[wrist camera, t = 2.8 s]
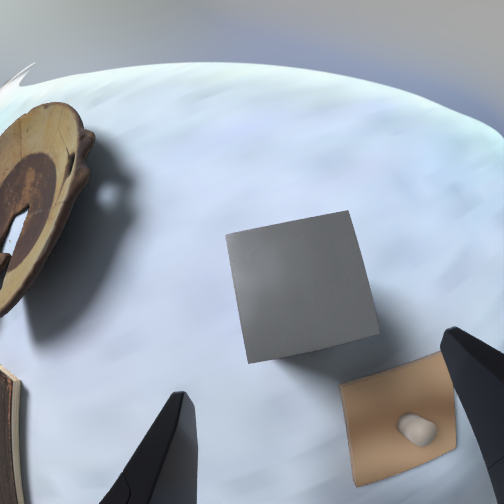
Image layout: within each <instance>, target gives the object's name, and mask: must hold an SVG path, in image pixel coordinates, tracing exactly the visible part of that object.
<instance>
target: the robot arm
mask: <svg viewBox="0 0 504 504" xmlns="http://www.w3.org/2000/svg"><path fill="white" fill-rule="evenodd" d="M440 349H441V353H442V355H443V358H444V361H445V363H446V366H447V369H448V372H449V375H450V377H451V380H452V383H453V385H454V388H455V390H456V392H457V394H458V396H459V399H460V401H461V403H462V405H463V408H464V410H465V412H466V415H467V417H468V419H469V422H470V424H471V426H472V429H473V431H474V434H475V436H476V439H477V442H478V444H479V447H480V450H481V452H482V455H483V458H484V461H485V464H486V467H487V469H488V473H489V476H490V479H491V482H492V486H493V489H494V492H495V496H496V499H497V503H498V504H504V354H503V353H501V352H500V351H498V350H496V349H495V348H493V347H491V346H489V345H488V344H486V343H484V342H483V341H481V340H479V339H477V338H476V337H474V336H472V335H470V334H469V333H467V332H465V331H463V330H462V329H460V328H458V327H455V326H454V327H451V328H448V329H446V330H445V332H444V335H443V338H442V341H441V344H440ZM197 467H198V441H197V430H196V417H195V407H194V404H193V402H192V401H191V399H190V398H189V396H188V395H187V393H186V392H185V391H178V392H173V393H172V394H171V396H170V397H169V399H168V400H167V402H166V404H165V405H164V407H163V408H162V410H161V412H160V413H159V415H158V416H157V418H156V419H155V421H154V423H153V424H152V426H151V427H150V429H149V430H148V432H147V434H146V435H145V437H144V438H143V440H142V441H141V443H140V445H139V446H138V448H137V449H136V451H135V452H134V454H133V456H132V457H131V459H130V460H129V462H128V463H127V465H126V466H125V468H124V470H123V472H122V473H121V474H120V476H119V477H118V479H117V480H116V482H115V483H114V485H113V486H112V488H111V489H110V490H109V492H108V493H107V494H106V495H105V497H104V498H103V499H102V500H101V502H100V503H99V504H197Z"/></svg>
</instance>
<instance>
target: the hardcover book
mask: <svg viewBox="0 0 504 504" xmlns="http://www.w3.org/2000/svg"><path fill="white" fill-rule="evenodd" d="M20 387H21V380H19V379H18V378H17V377H15V376H14V375H13V374H12V373H10V372H9V371H8V370H7V369H5V368H4V367H3V366H2V365H0V504H24V497H23V490H22V481H21V471H20V456H19V402H20Z"/></svg>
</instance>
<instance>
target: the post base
mask: <svg viewBox="0 0 504 504" xmlns="http://www.w3.org/2000/svg"><path fill="white" fill-rule="evenodd" d="M339 387H340V392H341V398H342V404H343V411H344V417H345V423H346V430H347V437H348V444H349V451H350V459H351V467H352V475H353V481H354V483H355V485H356V487H360V486H364V485H367V484H370V483H373V482H376V481H379V480H382V479H385V478H388V477H391V476H393V475H396V474H399V473H401V472H404V471H407V470H409V469H412V468H414V467H416V466H419V465H421V464H423V463H426V462H428V461H430V460H432V459H434V458H437V457H439V456H441V455H443V454H445V453H447V452H449V451H451V450H453V449H455V448H456V422H455V404H454V392H453V383H452V380H451V377H450V375H449V372H448V369H447V366H446V363H445V361H444V358H443V355H442V353H441V351H438V352H436V353H433V354H431V355H428V356H426V357H423V358H420V359H418V360H415V361H412V362H409V363H406V364H404V365H401V366H398V367H395V368H392V369H389V370H386V371H383V372H379V373H376V374H373V375H370V376H366V377H363V378H359V379H356V380H352V381H349V382H345V383H341V384H339Z"/></svg>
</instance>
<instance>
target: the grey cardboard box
mask: <svg viewBox="0 0 504 504" xmlns="http://www.w3.org/2000/svg"><path fill="white" fill-rule="evenodd" d="M226 241H227V247H228V253H229V259H230V265H231V271H232V277H233V283H234V288H235V294H236V300H237V305H238V311H239V316H240V322H241V328H242V333H243V338H244V344H245V349H246V355H247V360H248V364H250V363H256V362H262V361H267V360H272V359H278V358H283V357H288V356H293V355H297V354H302V353H307V352H311V351H316V350H320V349H324V348H328V347H332V346H336V345H340V344H344V343H348V342H352V341H356V340H359V339H363V338H367V337H370V336H374V335H377V334H380V330H379V325H378V321H377V316H376V312H375V307H374V303H373V298H372V294H371V290H370V286H369V282H368V278H367V274H366V270H365V266H364V262H363V259H362V255H361V251H360V248H359V244H358V241H357V237H356V234H355V231H354V227H353V224H352V221H351V217H350V214H349V211H348V210H347V211H342V212H336V213H331V214H326V215H321V216H316V217H310V218H305V219H300V220H295V221H290V222H285V223H280V224H275V225H270V226H265V227H260V228H255V229H250V230H245V231H241V232H236V233H231V234H226Z"/></svg>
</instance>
